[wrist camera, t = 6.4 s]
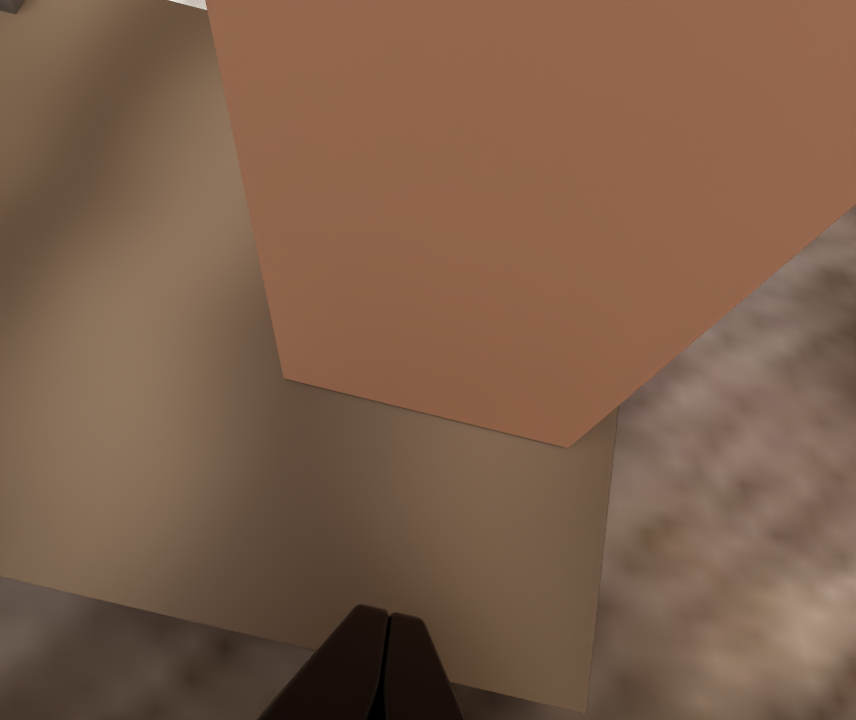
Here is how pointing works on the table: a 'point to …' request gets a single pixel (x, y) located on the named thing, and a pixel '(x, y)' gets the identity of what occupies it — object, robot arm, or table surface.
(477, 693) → the table surface
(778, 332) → the table surface
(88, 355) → the studded brown plank
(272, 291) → the terracotta block
